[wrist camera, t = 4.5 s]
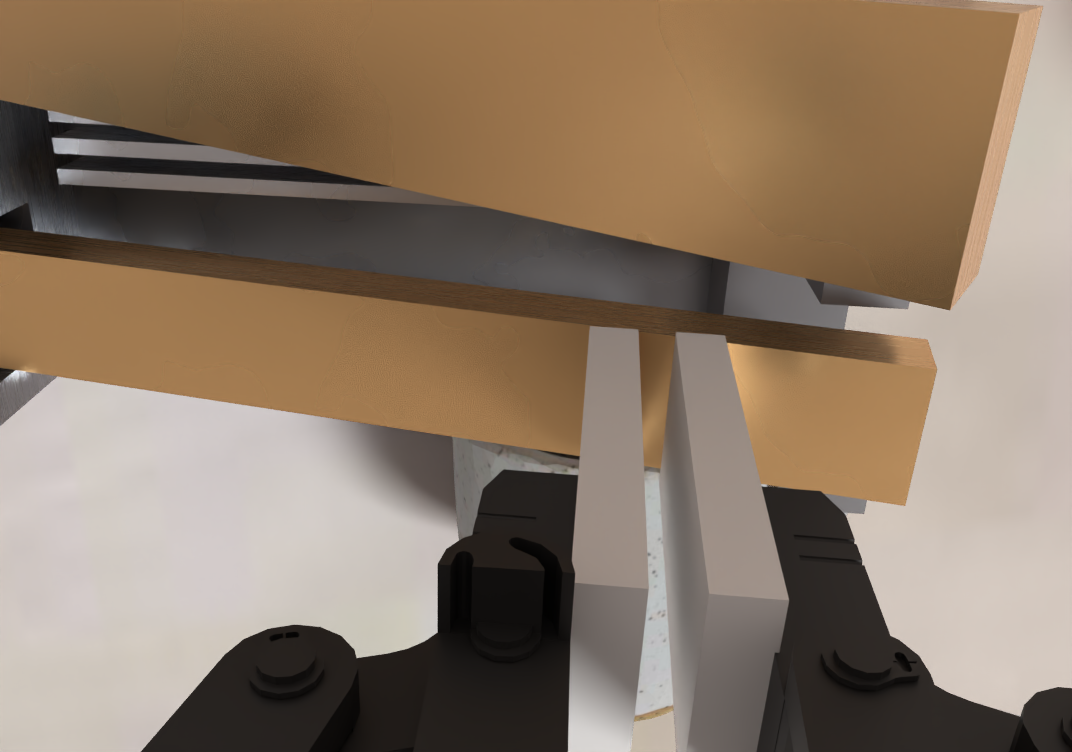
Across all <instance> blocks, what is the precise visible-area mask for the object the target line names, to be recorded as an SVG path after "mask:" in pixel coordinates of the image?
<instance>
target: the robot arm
mask: <svg viewBox="0 0 1072 752" xmlns="http://www.w3.org/2000/svg"><path fill="white" fill-rule="evenodd" d="M659 489H660V504H661V520H662V535H663V551H664V567H665V582H666V598H667V613H668V629H669V645H670V660H671V676H672V692H673V707H674V723H675V738H676V752H1072V688H1061V687H1057V688H1053V689H1049V690H1045V691H1041V692H1037V693H1036V694H1035V695H1034V696H1033V697H1032V698H1031V699H1030V700H1029V701H1028V702H1027V703H1026V704H1025V705H1024V707H1023V710H1022V713H1021V716H1020V717H1019V716H1016V715H1013V714H1010V713H1006V712H1003V711H1000V710H997V709H994V708H990V707H987V706H984V705H981V704H977V703H974V702H971V701H968V700H966V699H963V698H961V697H958V696H955V695H953V694H950V693H948V692H946V691H944V690H942V689H941V688H939V687H937V686H935V685H934V682H933V680H932V677H931V674H930V673H929V671H928V669H927V668H926V666H925V665H924V663H923V662H922V660H921V658H920V657H919V656H918V655H917V654H916V653H915V652H913V651H912V650H911V649H910V648H908V647H907V646H906V645H905V644H903V643H902V642H901V641H900V640H898V639H896V638H894V637H891V636H890V634H889V631H888V628H887V626H886V623H885V620H884V618H883V615H882V612H881V610H880V607H879V604H878V601H877V599H876V596H875V593H874V591H873V588H872V585H871V582H870V580H869V577H868V574H867V572H866V569H865V566H864V565H862V558H861V555H860V553H859V550H858V547H857V545H856V544H854V540H855V539H854V537H853V534H852V531H851V528H850V526H849V523H848V520H847V518H846V515H845V514H844V513H843V512H842V511H841V510H840V509H839V508H838V507H837V506H836V505H835V504H834V503H833V502H832V501H831V500H830V499H829V498H828V497H827V496H826V495H825V494H823V493H822V492H821V491H814V490H801V489H788V488H775V487H763V486H761V482H760V478H759V474H758V470H757V466H756V462H755V457H754V453H753V449H752V445H751V441H750V437H749V433H748V429H747V424H746V420H745V416H744V412H743V408H742V404H741V400H740V396H739V391H738V387H737V383H736V379H735V375H734V371H733V367H732V362H731V358H730V354H729V350H728V346H727V342H726V338H725V335H713V334H698V333H684V332H676V335H675V344H674V353H673V362H672V371H671V380H670V389H669V398H668V407H667V416H666V425H665V434H664V443H663V452H662V461H661V470H660V479H659ZM648 592H649V579H648V554H647V530H646V505H645V480H644V455H643V431H642V406H641V381H640V356H639V332H638V329H625V328H611V327H596V326H590V330H589V343H588V356H587V369H586V382H585V395H584V408H583V421H582V434H581V447H580V460H579V473H578V475H570V474H557V473H544V472H532V471H519V470H506V469H503V470H502V471H501V472H500V473H499V474H498V475H497V476H496V477H495V478H494V479H493V480H492V481H491V482H490V483H488V484H487V485H486V486H485V487H484V488H483V491H482V495H481V499H480V503H479V507H478V511H477V517H476V520H475V524H474V528H473V533H472V535H471V536H467V537H464V538H462V539H461V540H459V541H458V542H456V543H455V544H453V545H452V546H450V547H449V548H447V549H446V551H445V552H444V554H443V556H442V558H441V559H440V561H439V563H438V633H436V634H435V635H433V636H432V637H431V638H429V639H428V640H426V641H425V642H423V643H420V644H418V645H416V646H413V647H411V648H409V649H405V650H401V651H397V652H393V653H388V654H382V655H376V656H369V657H362V658H356V655H355V650H354V649H353V648H352V647H351V646H350V645H349V644H348V643H347V642H346V641H345V640H344V638H343V637H342V636H340V635H338V634H335V633H333V632H331V631H328V630H326V629H323V628H321V627H314V626H303V625H290V626H284V627H277V628H271V629H267V630H265V631H262V632H260V633H258V634H255V635H253V636H250V637H248V638H246V639H244V640H242V641H241V642H240V643H239V644H237V645H236V646H235V647H234V648H233V649H231V650H230V651H229V652H228V653H226V654H225V655H224V656H223V657H222V659H221V660H220V661H219V662H218V663H217V664H216V666H215V667H214V668H213V669H212V670H211V671H210V673H209V674H208V675H207V676H206V677H205V678H204V679H203V681H202V682H201V683H200V684H199V685H198V686H197V688H196V689H195V690H194V691H193V692H192V693H191V694H190V696H189V697H188V698H187V699H186V700H185V701H184V703H183V704H182V705H181V706H180V707H179V708H178V710H177V711H176V712H175V713H174V714H173V715H172V716H171V718H170V719H169V720H168V721H167V722H166V723H165V725H164V726H163V727H162V728H161V729H160V730H159V731H158V733H157V734H156V735H155V736H154V737H153V738H152V740H151V741H150V742H149V743H148V744H147V745H146V747H145V748H144V749H143V750H142V751H141V752H631V744H632V735H633V726H634V717H635V708H636V699H637V690H638V682H639V673H640V664H641V655H642V646H643V637H644V628H645V619H646V610H647V601H648Z"/></svg>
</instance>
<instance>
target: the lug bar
mask: <svg viewBox="0 0 1072 752" xmlns="http://www.w3.org/2000/svg"><path fill="white" fill-rule="evenodd" d="M909 302H910V301H906V300H901V299H897V298H892V297H888V296H883V295H879V294H874V293H870V292H865V291H861V290H856V289H852V288H847V287H843V286H838V285H834V284H829V283H825V282H820V281H816V280H811V279H807V278H802V277H798V276H793V275H789V274H784V273H780V272H775V271H771V270H766V269H762V268H757V267H753V266H748V265H744V264H739V263H734V262H730V261H725V260H721V259H716V258H713V264H712V272H711V281H710V289H709V297H708V305H707V313H712V314H720V315H728V316H737V317H745V318H753V319H761V320H770V321H778V322H786V323H794V324H802V325H811V326H819V327H827V328H835V329H844V327H845V321H846V316H847V311H848V306H862V307H880V308H898V309H908V307H909ZM778 488H785V487H779V486H778ZM788 489H792V488H788ZM823 494H824V493H823ZM825 495H826V496H827V497H828V498H829V499H830V500H831V501H832V502H833V503H834V504H835V505H836V506H837V507H838V508H839V509H840V510H841V511H842V512H843V513H859V514H864V511H865V507H866V502H867V500H864V499H857V498H851V497H844V496H838V495H831V494H825Z"/></svg>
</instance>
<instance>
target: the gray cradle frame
mask: <svg viewBox="0 0 1072 752" xmlns="http://www.w3.org/2000/svg"><path fill="white" fill-rule="evenodd" d="M0 227H5V228H13V229H21V230H30V231H38V232H46V233H54V234H62V235H71V236H79V237H87V238H95V239H104V240H112V241H120V242H128V243H136V244H145V245H153V246H161V247H169V248H178V249H186V250H194V251H202V252H210V253H219V254H227V255H235V256H243V257H252V258H260V259H268V260H276V261H284V262H293V263H301V264H309V265H317V266H326V267H334V268H342V269H350V270H358V271H367V272H375V273H383V274H391V275H400V276H408V277H416V278H424V279H432V280H441V281H449V282H457V283H465V284H474V285H482V286H490V287H498V288H506V289H515V290H523V291H531V292H539V293H548V294H556V295H564V296H572V297H580V298H589V299H597V300H605V301H613V302H622V303H630V304H638V305H646V306H654V307H663V308H671V309H679V310H687V311H696V312H704V313H707V305H708V297H709V289H710V281H711V272H712V264H713V258H712V257H707V256H703V255H698V254H694V253H689V252H685V251H680V250H676V249H671V248H667V247H662V246H658V245H653V244H649V243H644V242H640V241H635V240H631V239H626V238H622V237H617V236H613V235H608V234H604V233H599V232H595V231H590V230H586V229H581V228H577V227H572V226H568V225H563V224H558V223H554V222H549V221H545V220H540V219H536V218H531V217H527V216H522V215H518V214H513V213H509V212H504V211H500V210H495V209H491V208H486V207H482V206H477V205H473V204H468V203H464V202H459V201H455V200H450V199H446V198H441V197H437V196H432V195H428V194H423V193H419V192H414V191H410V190H405V189H401V188H396V187H392V186H387V185H383V184H378V183H373V182H369V181H364V180H360V179H355V178H351V177H346V176H342V175H337V174H333V173H328V172H324V171H319V170H315V169H310V168H306V167H301V166H297V165H292V164H288V163H283V162H279V161H274V160H270V159H265V158H261V157H256V156H252V155H247V154H243V153H238V152H234V151H229V150H225V149H220V148H216V147H211V146H207V145H202V144H197V143H193V142H188V141H184V140H179V139H175V138H170V137H166V136H161V135H157V134H152V133H148V132H143V131H139V130H134V129H130V128H125V127H121V126H116V125H112V124H107V123H103V122H98V121H94V120H89V119H85V118H80V117H76V116H71V115H67V114H62V113H58V112H53V111H49V110H44V109H40V108H35V107H31V106H26V105H22V104H17V103H12V102H8V101H3V100H0ZM56 377H57V376H52V375H45V374H39V373H32V372H26V371H19V370H13V369H6V368H0V426H1V425H2V424H3V423H4V422H5V421H6V420H8V419H9V418H10V417H11V416H12V415H13V414H15V413H16V412H17V411H18V410H19V409H20V408H21V407H23V406H24V405H25V404H26V403H27V402H28V401H30V400H31V399H32V398H33V397H34V396H35V395H36V394H38V393H39V392H40V391H41V390H42V389H43V388H45V387H46V386H47V385H48V384H49V383H50V382H51V381H53V380H54V379H55V378H56Z"/></svg>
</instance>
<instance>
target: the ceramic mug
mask: <svg viewBox="0 0 1072 752" xmlns="http://www.w3.org/2000/svg"><path fill="white" fill-rule="evenodd" d="M452 441H453V461H454V483H455V500H456V513H457V524H458V534H459V540H461V539H462V538H464V537H467V536H471V535H472V533H473V528H474V524H475V520H476V517H477V511H478V507H479V503H480V499H481V495H482V491H483V488H484V487H485V486H486V485H487V484H488V483H490V482H491V481H492V480H493V479H494V478H495V477H496V476H497V475H498V474H499V473H500V472H501V471H502V470H503V469H506V470H519V471H532V472H544V473H557V474H570V475H578V473H579V460H580V456H576V455H569V454H563V453H556V452H549V451H543V450H536V449H530V448H523V447H517V446H510V445H504V444H497V443H491V442H484V441H477V440H471V439H464V438H458V437H452ZM660 470H661V468H654V467H648V466H644V480H645V505H646V530H647V554H648V579H649V592H648V601H647V610H646V619H645V628H644V637H643V646H642V655H641V664H640V673H639V682H638V690H637V699H636V708H635V717H634V721H640V720H646V719H652V718H655V717H658V716H661V715H664V714H667V713H669V712H671V711H672V710H674V707H673V692H672V676H671V660H670V645H669V629H668V613H667V598H666V582H665V567H664V551H663V535H662V520H661V504H660V489H659V479H660ZM761 486H763V487H767V485H766V484H761ZM844 514H845V515H847V513H844Z"/></svg>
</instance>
